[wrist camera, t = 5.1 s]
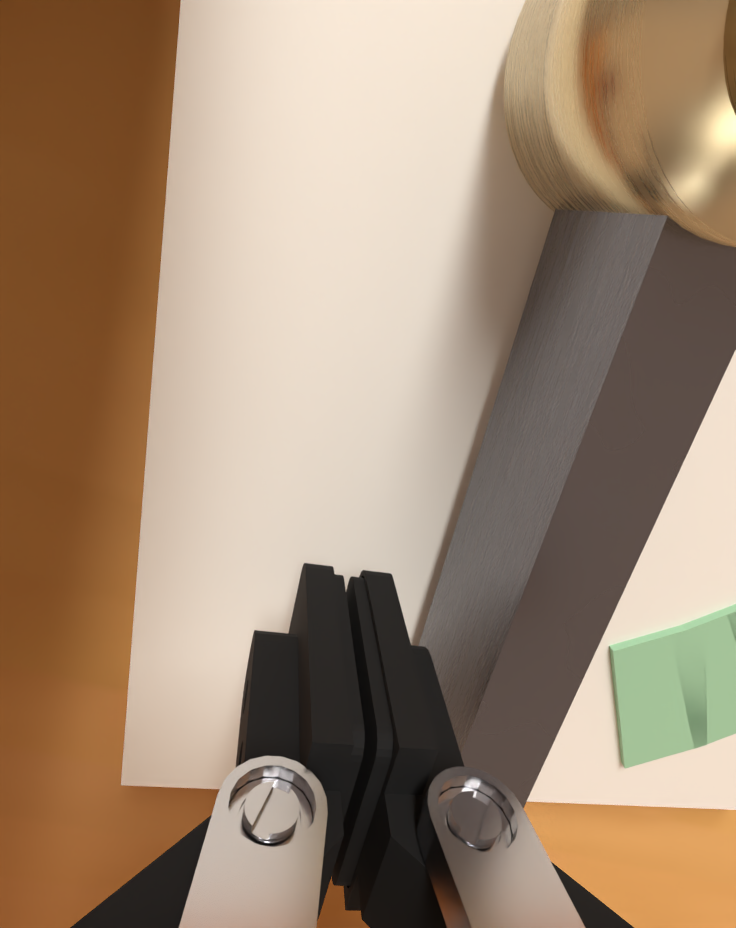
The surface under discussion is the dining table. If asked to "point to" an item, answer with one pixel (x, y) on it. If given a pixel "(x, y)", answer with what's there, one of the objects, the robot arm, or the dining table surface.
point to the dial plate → (378, 388)
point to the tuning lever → (591, 356)
